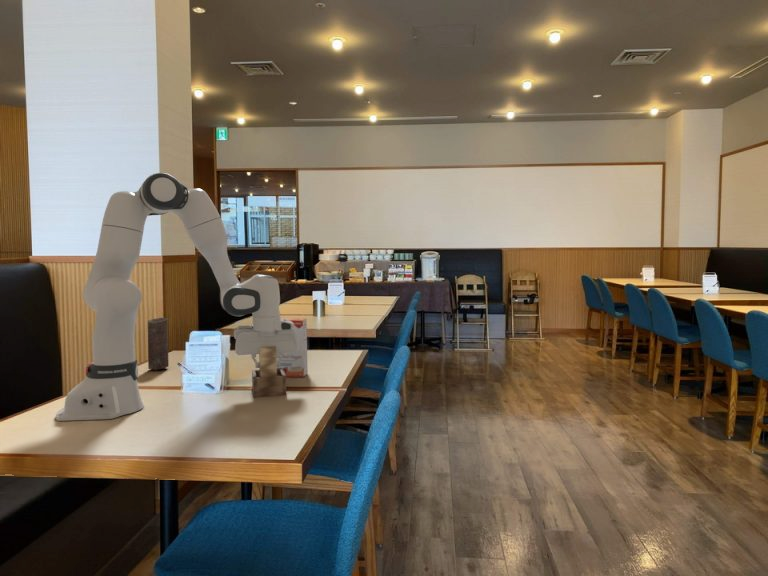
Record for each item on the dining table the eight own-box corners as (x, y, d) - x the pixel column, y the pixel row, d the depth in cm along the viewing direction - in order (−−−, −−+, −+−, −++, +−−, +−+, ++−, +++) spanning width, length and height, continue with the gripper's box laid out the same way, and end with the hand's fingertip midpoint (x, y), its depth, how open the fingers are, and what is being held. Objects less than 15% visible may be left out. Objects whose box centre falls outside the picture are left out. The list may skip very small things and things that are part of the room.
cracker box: (266, 377, 202) (264, 319, 201) (271, 373, 208) (269, 317, 207) (304, 377, 201) (302, 319, 199) (308, 373, 207) (306, 317, 205)
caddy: (254, 397, 175) (253, 378, 174) (252, 387, 187) (251, 369, 187) (286, 394, 177) (285, 376, 177) (282, 385, 190) (282, 367, 189)
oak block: (261, 385, 178) (260, 348, 177) (259, 380, 185) (258, 344, 184) (277, 384, 179) (276, 347, 178) (275, 379, 187) (274, 343, 186)
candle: (173, 368, 219) (171, 318, 218) (156, 372, 213) (154, 320, 212) (160, 366, 223) (158, 317, 222) (144, 370, 217) (142, 319, 216)
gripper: (233, 327, 175) (234, 371, 176) (299, 324, 180) (300, 366, 181) (233, 324, 181) (234, 367, 182) (296, 321, 186) (297, 362, 187)
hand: (267, 366), depth 182 cm, fingers closed on oak block, 5 cm apart
